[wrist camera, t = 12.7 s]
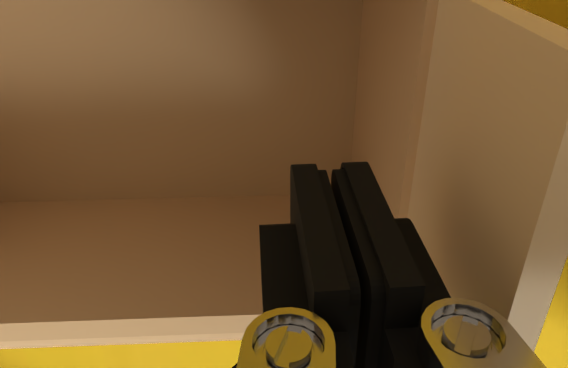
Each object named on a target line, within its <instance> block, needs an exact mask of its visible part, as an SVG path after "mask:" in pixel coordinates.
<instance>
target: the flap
mask: <svg viewBox="0 0 568 368" xmlns="http://www.w3.org/2000/svg"><path fill="white" fill-rule="evenodd" d="M407 218H409V219H410V220H411V221H412V223H413V224H414V226H415V228H416V230H417V232H418V234H419V236H420V238H421V240H422V242H423V244H424V246H425V248H426V250H427V252H428V253H429V255H430V257H431V259H432V261H433V263H434V265H435V267H436V269H437V271H438V273H439V275H440V277H441V279H442V281H443V283H444V285H445V287H446V288H447V290H448V292H449V294H450V296H451V298H464V299H470V300H474V301H477V302H480V303H482V304H485V305H487V306H489V307H490V308H492V309H494V310H495V311H497V312H499V313H500V314H501V315H502V316H503V317H504V318H505V319H506V320H507V321H508V322H509V323H510V324H511V325H512V327H513V328H514V329H515V330H516V331H517V333H518V334H519V335H520V336H521V338H522V339H523V340H524V341H525V342H526V344H527V345H528V346H529V347H530V348H531V350H532V351H533V352H534V350H535V347H536V344H537V341H538V338H539V336H540V333H541V330H542V327H543V324H544V321H545V319H546V316H547V313H548V310H549V307H550V304H551V301H552V299H553V296H554V293H555V290H556V287H557V284H558V282H559V279H560V276H561V273H562V270H563V267H564V264H565V262H566V259H567V256H568V29H566V28H564V27H562V26H560V25H557V24H555V23H553V22H550V21H548V20H546V19H544V18H541V17H539V16H537V15H535V14H532V13H530V12H528V11H525V10H523V9H521V8H519V7H516V6H514V5H512V4H509V3H507V2H505V1H503V0H439V2H438V9H437V16H436V23H435V30H434V37H433V43H432V50H431V57H430V64H429V71H428V78H427V85H426V92H425V99H424V105H423V112H422V119H421V126H420V133H419V140H418V147H417V154H416V161H415V167H414V174H413V181H412V188H411V195H410V202H409V209H408V216H407Z"/></svg>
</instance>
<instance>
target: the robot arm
mask: <svg viewBox="0 0 568 368" xmlns="http://www.w3.org/2000/svg"><path fill="white" fill-rule="evenodd" d="M259 237H260V261H261V284H262V305H263V314H261V315H259V316H258V317H256V318H255V319H254V320H253V321H252V322H251V323H250V324H249V325H248V326H247V328H246V330H245V333H244V335H243V338H242V342H241V347H240V353H239V358H238V363H237V364H236V365H235V366H233V367H232V368H546V367H545V365H544V364H543V363H542V362H541V361H540V359H539V358H538V357H537V356H536V354H535V353H534V352H533V351H532V350H531V348H530V347H529V346H528V345H527V344H526V342H525V341H524V340H523V339H522V338H521V336H520V335H519V334H518V333H517V331H516V330H515V329H514V328H513V327H512V325H511V324H510V323H509V322H508V321H507V320H506V319H505V318H504V317H503V316H502V315H501V314H500V313H499V312H497V311H495V310H494V309H492V308H490V307H489V306H487V305H485V304H482V303H480V302H477V301H474V300H470V299H464V298H451V296H450V294H449V292H448V290H447V288H446V287H445V285H444V283H443V281H442V279H441V277H440V275H439V273H438V271H437V269H436V267H435V265H434V263H433V261H432V259H431V257H430V255H429V253H428V252H427V250H426V248H425V246H424V244H423V242H422V240H421V238H420V236H419V234H418V232H417V230H416V228H415V226H414V224H413V223H412V221H411V220H410V219H409V218H394V216H393V214H392V212H391V210H390V208H389V206H388V204H387V201H386V199H385V197H384V195H383V193H382V191H381V189H380V186H379V184H378V182H377V180H376V178H375V176H374V173H373V171H372V169H371V167H370V165H369V163H368V162H342V163H341V167H340V169H333V170H332V175H331V184H330V181H329V177H328V174H327V171H326V170H318V168H317V165H316V164H293V165H291V166H290V223H288V224H268V225H259Z"/></svg>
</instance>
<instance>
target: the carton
mask: <svg viewBox="0 0 568 368" xmlns="http://www.w3.org/2000/svg"><path fill="white" fill-rule="evenodd" d="M438 2H439V0H0V349H13V348H40V347H67V346H93V345H120V344H147V343H174V342H200V341H227V340H242V338H243V335H244V333H245V330H246V328H247V326H248V325H249V324H250V323H251V322H252V321H253V320H254V319H255V318H256V317H258V316H259V315H261V314H263V305H262V284H261V261H260V237H259V225H268V224H288V223H290V166H291V165H293V164H316V165H317V168H318V170H326V171H327V174H328V177H329V181H330V184H331V175H332V170H333V169H340V167H341V163H342V162H368V163H369V165H370V167H371V169H372V171H373V173H374V176H375V178H376V180H377V182H378V184H379V186H380V189H381V191H382V193H383V195H384V197H385V199H386V201H387V204H388V206H389V208H390V210H391V212H392V214H393V216H394V218H407V216H408V209H409V202H410V195H411V188H412V181H413V174H414V167H415V161H416V154H417V147H418V140H419V133H420V126H421V119H422V112H423V105H424V99H425V92H426V85H427V78H428V71H429V64H430V57H431V50H432V43H433V37H434V30H435V23H436V16H437V9H438Z"/></svg>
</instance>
